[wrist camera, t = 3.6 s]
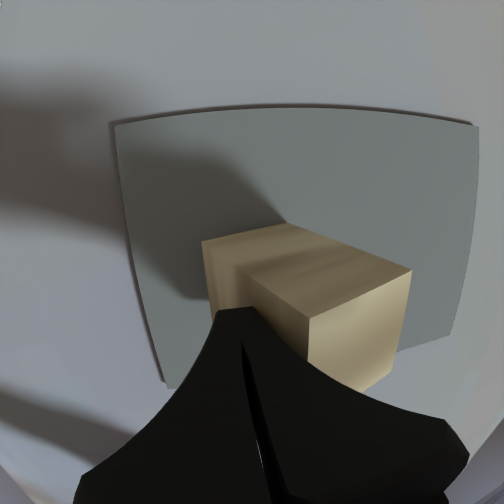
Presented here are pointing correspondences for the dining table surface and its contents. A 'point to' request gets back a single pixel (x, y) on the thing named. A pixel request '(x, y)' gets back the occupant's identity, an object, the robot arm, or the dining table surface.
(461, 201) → the rubber mat
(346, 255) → the maple block
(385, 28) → the dining table surface
